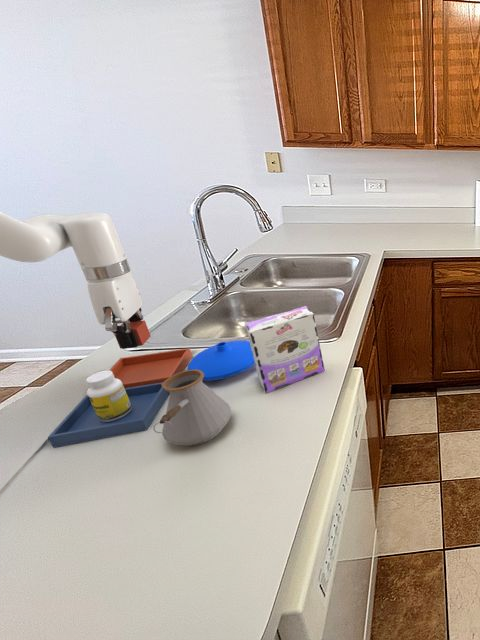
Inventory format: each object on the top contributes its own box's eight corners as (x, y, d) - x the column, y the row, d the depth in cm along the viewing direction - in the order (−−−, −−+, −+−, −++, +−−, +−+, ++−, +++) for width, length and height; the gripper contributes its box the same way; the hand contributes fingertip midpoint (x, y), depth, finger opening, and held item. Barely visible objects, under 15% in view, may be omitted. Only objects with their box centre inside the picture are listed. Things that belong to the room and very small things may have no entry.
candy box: (317, 361, 103) (306, 304, 97) (325, 371, 99) (314, 313, 93) (259, 382, 95) (243, 321, 89) (265, 394, 91) (249, 331, 84)
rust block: (120, 348, 91) (113, 332, 89) (129, 339, 95) (122, 323, 93) (142, 345, 92) (136, 328, 91) (150, 336, 96) (144, 320, 95)
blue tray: (53, 447, 76) (47, 437, 75) (91, 404, 88) (86, 394, 87) (147, 429, 80) (142, 419, 79) (171, 390, 92) (168, 381, 91)
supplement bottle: (92, 420, 82) (74, 381, 78) (120, 403, 87) (103, 366, 83) (112, 425, 81) (94, 385, 77) (139, 407, 86) (123, 369, 82)
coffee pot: (173, 421, 83) (150, 361, 77) (236, 406, 87) (219, 347, 81) (145, 506, 65) (112, 435, 59) (226, 480, 69) (203, 412, 64)
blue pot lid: (266, 346, 110) (260, 324, 107) (259, 378, 96) (253, 354, 93) (199, 358, 104) (192, 335, 102) (182, 394, 91) (173, 368, 88)
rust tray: (95, 399, 89) (91, 389, 88) (123, 366, 101) (120, 358, 100) (174, 385, 94) (170, 376, 93) (192, 356, 105) (189, 347, 104)
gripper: (106, 259, 93) (133, 327, 100) (62, 286, 78) (96, 364, 85) (144, 256, 95) (167, 323, 102) (108, 282, 80) (138, 358, 87)
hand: (135, 341), depth 94 cm, fingers closed on rust block, 4 cm apart
